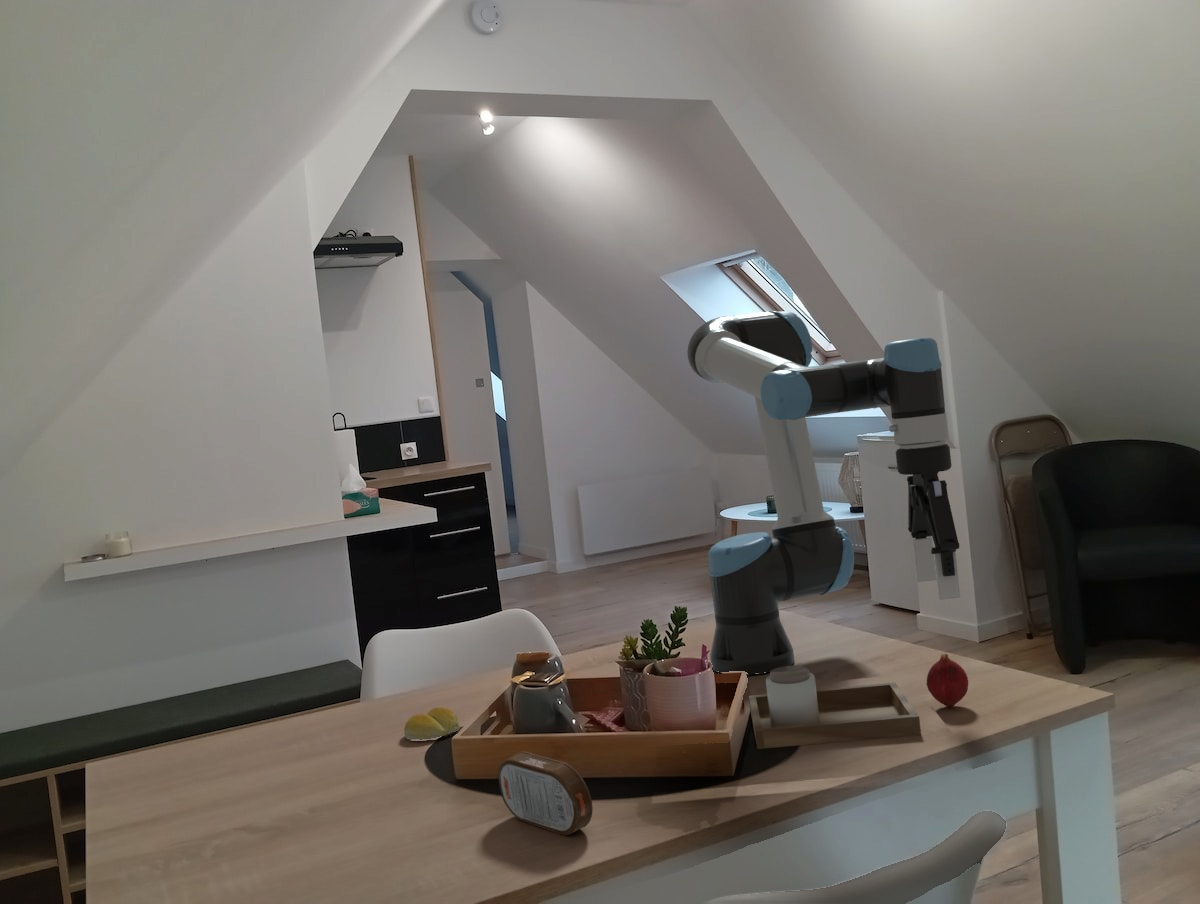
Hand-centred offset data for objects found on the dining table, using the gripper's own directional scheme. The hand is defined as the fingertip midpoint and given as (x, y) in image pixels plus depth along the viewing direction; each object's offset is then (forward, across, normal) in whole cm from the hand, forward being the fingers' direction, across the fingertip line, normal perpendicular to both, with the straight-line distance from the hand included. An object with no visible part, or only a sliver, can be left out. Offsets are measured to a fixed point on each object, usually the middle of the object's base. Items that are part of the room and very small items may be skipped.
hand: (937, 589), depth 146 cm
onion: (+18, 0, 0) cm, 18 cm away
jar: (+17, +5, -23) cm, 29 cm away
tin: (+18, +30, -56) cm, 66 cm away
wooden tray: (+18, +5, -18) cm, 26 cm away
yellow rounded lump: (+18, -10, -81) cm, 84 cm away
